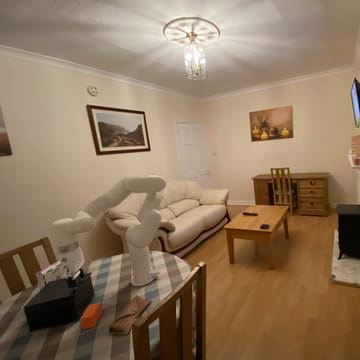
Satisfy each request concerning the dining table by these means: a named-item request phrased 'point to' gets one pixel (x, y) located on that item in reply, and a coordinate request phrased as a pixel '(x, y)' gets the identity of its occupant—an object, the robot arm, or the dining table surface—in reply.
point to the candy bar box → (49, 274)
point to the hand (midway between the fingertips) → (76, 282)
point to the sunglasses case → (128, 316)
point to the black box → (60, 309)
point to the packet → (91, 316)
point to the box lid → (57, 290)
